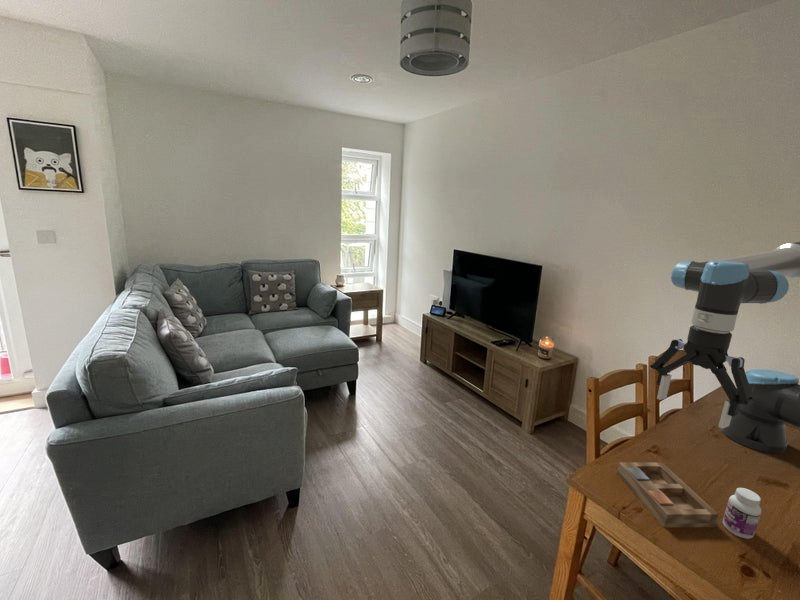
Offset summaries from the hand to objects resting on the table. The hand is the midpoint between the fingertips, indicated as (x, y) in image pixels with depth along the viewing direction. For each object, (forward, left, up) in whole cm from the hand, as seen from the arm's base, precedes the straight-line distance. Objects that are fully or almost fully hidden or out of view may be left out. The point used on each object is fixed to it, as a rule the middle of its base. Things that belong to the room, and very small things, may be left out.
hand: (690, 411), depth 89 cm
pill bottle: (-6, +12, -23) cm, 26 cm away
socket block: (+4, +2, -23) cm, 23 cm away
